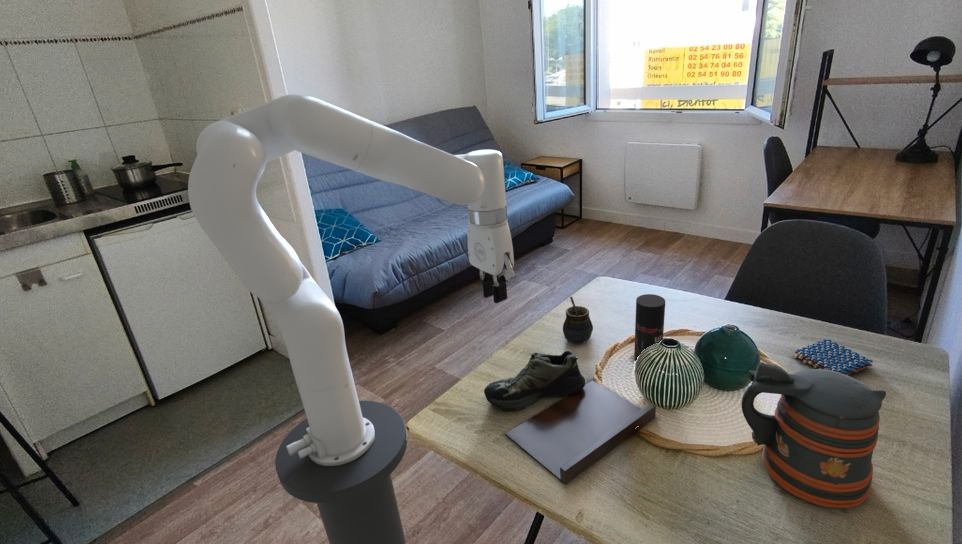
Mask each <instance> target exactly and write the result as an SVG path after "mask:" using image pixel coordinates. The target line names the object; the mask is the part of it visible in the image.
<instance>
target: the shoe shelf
mask: <svg viewBox="0 0 962 544" xmlns="http://www.w3.org/2000/svg"><path fill="white" fill-rule="evenodd" d="M656 410H657V405H655V404H653V403H651V402H650V403H649V404H647V405H646V406H644V407H643V408H641V407H639V406H637V405H635V404H634V403H632V402H630V401H628V400H627V399H625V398H623V397H622V396H620V395H619V394H616V393H614V392H613V391H611V390H610V389H608V388H606V387H604V386H603V385H601V384H600V383H598V382H596V381H594V380H590V381H588V382H587V383H585V386H584V387H583V388H582V390H580V391H579V392H578V393H576V394H573V395H567V396H563V398H561V399H559V400H558V401H556V402H555V403H553V404H551V405H550V406H548V407H546V408H544V409H543V410H541V411H540V412H538V413H537V414H534V415H533V416H531V417H530V418H528V419H527V420H525V421H523V422H522V423H520V424H519V425H517V426H515V427H514V428H512V429H510V430H509V431H507V432H506V433H505V436H506V437H507V438H508V439H510V440H511V441H512V442H513V443H514V444H516V445H517V446H518V447H520V448H521V449H522V450H523V451H524V452H525V453H527V454H528V455H529V456H530V457H531V458H533V459H534V460H535V461H536V462H537V463H538V464H540V465H541V466H542V467H543V468H544V469H546V470H547V471H548V472H549V473H550V474H552V475H553V476H554V477H556V479H558V480H559V481H560V482H562V484H564V485H565V486H566V485H567V484H569V483H570V482H572V480H574V479H575V478H577V477H578V476H579V475H581V474H582V473H583V472H585V471H586V470H588V469H589V468H590V467H592V466H593V465H595V463H597V462H598V461H599V460H601V459H602V458H604V457H605V456H606V455H608V454H609V453H611V452H612V451H613V450H615V449H616V448H617V447H619V446H620V445H621V444H623V443H624V442H625V441H627V440H628V439H630V438H631V437H632V436H634V435H635V434H636V433H638V432H639V431H640V430H642V429H643V428H645V427H646V426H647V425H648V424H649V423H651V422H652V421H654V420H655V419H656V412H657V411H656ZM637 426H639V427H637ZM636 427H637V428H636ZM635 428H636V429H635Z"/></svg>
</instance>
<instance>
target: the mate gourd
mask: <svg viewBox="0 0 962 544" xmlns="http://www.w3.org/2000/svg"><path fill="white" fill-rule="evenodd" d="M569 299H570V302H571V304H572V306H570V307H568V308H567V309H566V310H565V319H564V321H563V324H562V333H563V336H564V338H565V340H566V341H567V342H568V343H571V344H574V345H582V344H585V343H586V342H588V341H589V340H590V339H591V337H592V333H593V331H594V325H593V322H592V320H591V317H590V310H589V309H588V308H587V307H585V306H582V305H576V304H575V301H574V298H573V296H569Z"/></svg>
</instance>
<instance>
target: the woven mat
mask: <svg viewBox="0 0 962 544" xmlns="http://www.w3.org/2000/svg"><path fill="white" fill-rule="evenodd" d="M794 353H795V355H793V358H794V359H796V358H798V359H800V360H802V363H803V364H808V365H811V366H813V369H824V370H831V371H835V372H839V373H842V374H845V375H848V376H850V375H851V374H855V373H857V372H860V371H862V370H864V369H866V368H868V367H872V366H873V362H874V360H872V359H869V358H868V357H867V355H862V354H860V353H859V351H857V352H855V351H853V349H850V348H848V347H846V346H845V345H842V344H839V342H835V341H833V340H831V339H830V338H826V339H823V340H821V341H817V342H815V343H812V344H810V345H807V346H804V347H802V348H798V349H796V350H795V351H794Z"/></svg>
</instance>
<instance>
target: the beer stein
mask: <svg viewBox="0 0 962 544" xmlns="http://www.w3.org/2000/svg"><path fill="white" fill-rule="evenodd" d="M747 377H748V378H749V380H750V381H751V384H750V385H749V386H748V387H747V388H746V389H745V391H744V393H743V395H742V397H741V411H742V415H743V417H744V419H745V421H746V423H747V425H748V427H750V429H751V430H752V431H751V439H752V440H753V442H754V443H756V445H757V446H758V447H759V446H763V449H762V452H761V458H762V459H761V460H762V461H763V465H764V467H765V469H766V472H767V473H768V475H769V477H771V479H772V480H773V481H774V482H775V483H776V484H778V485H779V486H780V487H781V488H782V489H783V490H784V491H786V492H787V493H788V494H790V495H791V496H794V497H796V498H798V499H799V500H802V501H804V502H807V503H810V504H813V505H816V506H821V507H825V508H829V509H838V510H840V509H850V508H853V507H854V508H855V507H857V506H859V505H862V503H864V502H865V501H866V500H867V498H868V497H869V495H870V492H871V484H872V481H873V475H874V474H873V473H874V465H873V455H874V453H873V452H874V449H875V448H876V446H877V444H878V439H879V431H880V421H881V416H880V410H881V408H882V405H883V400H884V399H885V398H886V396H887V391H886V390H884V389H874V388H872V387H871V386H869V385H868V384H866V383H864V382H862V381H861V380H859V379H856V378H854V377H852V376H850V375H845V374H842V373H839V372H835V371H831V370H824V369H819V368H807V369H803V370H799V371H796V372H794V373H788V371H786V369H783V368H782V367H780V366H779V365H775V364H772V363H766V362H763V361H760V362H758V364H757V366H756V370H749V371H748V375H747ZM763 393H764V394H773V395H780V397H779V399H778V401H777V404H776V408H775V410H774V415H773V414H766V413H763V412H760V411H759V410H757V409H756V408H755V405H754V402H755V399H756V397H758V395H760V394H763Z"/></svg>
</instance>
